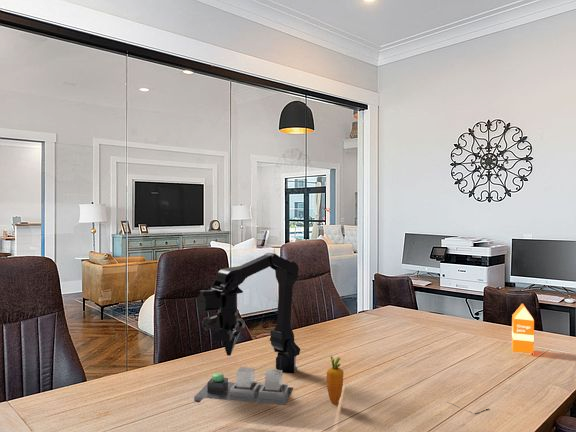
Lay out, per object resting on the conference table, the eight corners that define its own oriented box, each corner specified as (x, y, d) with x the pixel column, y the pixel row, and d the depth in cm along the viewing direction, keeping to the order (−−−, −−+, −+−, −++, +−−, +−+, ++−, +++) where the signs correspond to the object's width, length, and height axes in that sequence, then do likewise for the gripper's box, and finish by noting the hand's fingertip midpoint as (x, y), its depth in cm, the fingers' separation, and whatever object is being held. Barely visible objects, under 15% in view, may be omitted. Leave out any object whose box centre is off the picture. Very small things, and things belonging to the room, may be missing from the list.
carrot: (325, 403, 142) (325, 353, 142) (341, 403, 142) (342, 353, 142) (327, 410, 137) (328, 358, 137) (344, 410, 138) (345, 358, 137)
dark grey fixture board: (293, 391, 151) (293, 378, 151) (285, 409, 138) (285, 394, 138) (210, 384, 157) (210, 371, 157) (194, 400, 143) (194, 386, 143)
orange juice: (512, 353, 195) (513, 305, 195) (511, 348, 204) (512, 302, 203) (533, 356, 192) (534, 307, 192) (531, 350, 201) (532, 303, 200)
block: (282, 392, 147) (282, 370, 147) (279, 397, 143) (279, 374, 143) (268, 391, 148) (268, 368, 148) (264, 396, 144) (265, 373, 144)
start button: (225, 378, 150) (225, 373, 150) (221, 382, 147) (221, 377, 147) (214, 377, 151) (214, 372, 151) (210, 381, 147) (210, 376, 147)
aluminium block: (253, 389, 149) (254, 367, 149) (250, 395, 145) (250, 372, 144) (240, 388, 150) (240, 366, 150) (236, 394, 145) (236, 371, 145)
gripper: (214, 301, 165) (214, 345, 165) (194, 313, 147) (195, 363, 147) (245, 302, 163) (245, 347, 163) (229, 314, 145) (229, 365, 145)
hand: (228, 355), depth 155 cm, fingers closed
